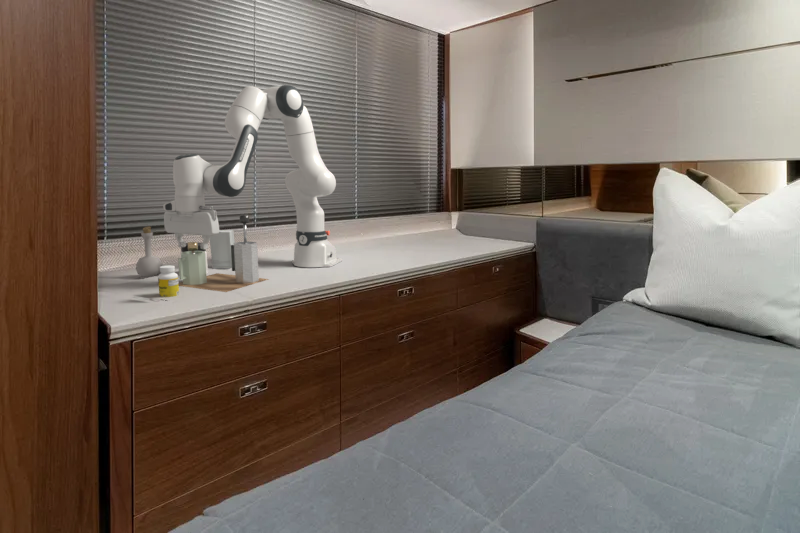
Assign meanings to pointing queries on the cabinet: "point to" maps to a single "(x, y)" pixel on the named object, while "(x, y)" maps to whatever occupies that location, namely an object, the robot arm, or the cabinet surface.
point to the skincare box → (222, 249)
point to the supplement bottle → (168, 282)
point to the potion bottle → (148, 258)
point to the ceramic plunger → (192, 246)
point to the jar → (185, 249)
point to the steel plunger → (244, 225)
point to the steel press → (245, 262)
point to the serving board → (220, 283)
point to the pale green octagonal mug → (192, 268)
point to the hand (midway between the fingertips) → (193, 248)
